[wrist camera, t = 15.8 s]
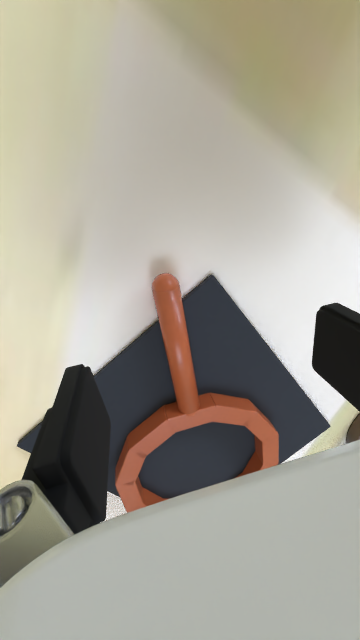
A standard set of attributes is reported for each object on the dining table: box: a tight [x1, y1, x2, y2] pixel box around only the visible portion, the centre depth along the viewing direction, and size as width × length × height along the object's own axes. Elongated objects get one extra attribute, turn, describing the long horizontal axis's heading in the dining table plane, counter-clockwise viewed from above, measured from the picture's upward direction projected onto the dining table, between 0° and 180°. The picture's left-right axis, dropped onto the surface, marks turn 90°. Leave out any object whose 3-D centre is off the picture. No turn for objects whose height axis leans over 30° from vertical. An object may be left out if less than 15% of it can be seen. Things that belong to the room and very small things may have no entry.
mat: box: [17, 274, 331, 499], centre depth 22 cm, size 20×18×1 cm
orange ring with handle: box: [115, 273, 279, 513], centre depth 20 cm, size 24×14×2 cm, turn 9°
